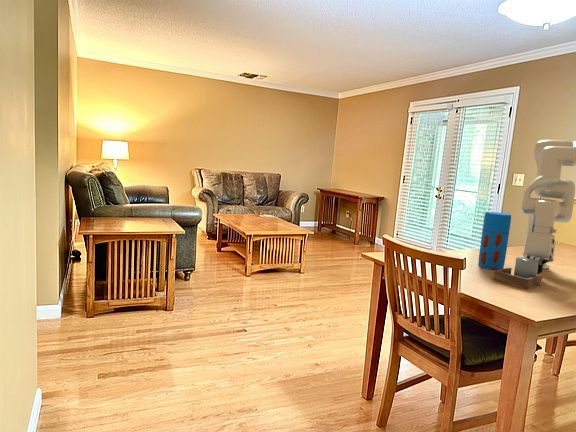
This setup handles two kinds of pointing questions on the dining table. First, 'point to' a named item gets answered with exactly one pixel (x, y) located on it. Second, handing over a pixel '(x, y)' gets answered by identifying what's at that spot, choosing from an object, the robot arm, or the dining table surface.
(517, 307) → the dining table surface
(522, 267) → the grey-blue mug
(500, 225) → the blue domino block
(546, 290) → the dining table surface
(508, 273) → the caddy
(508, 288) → the dining table surface
